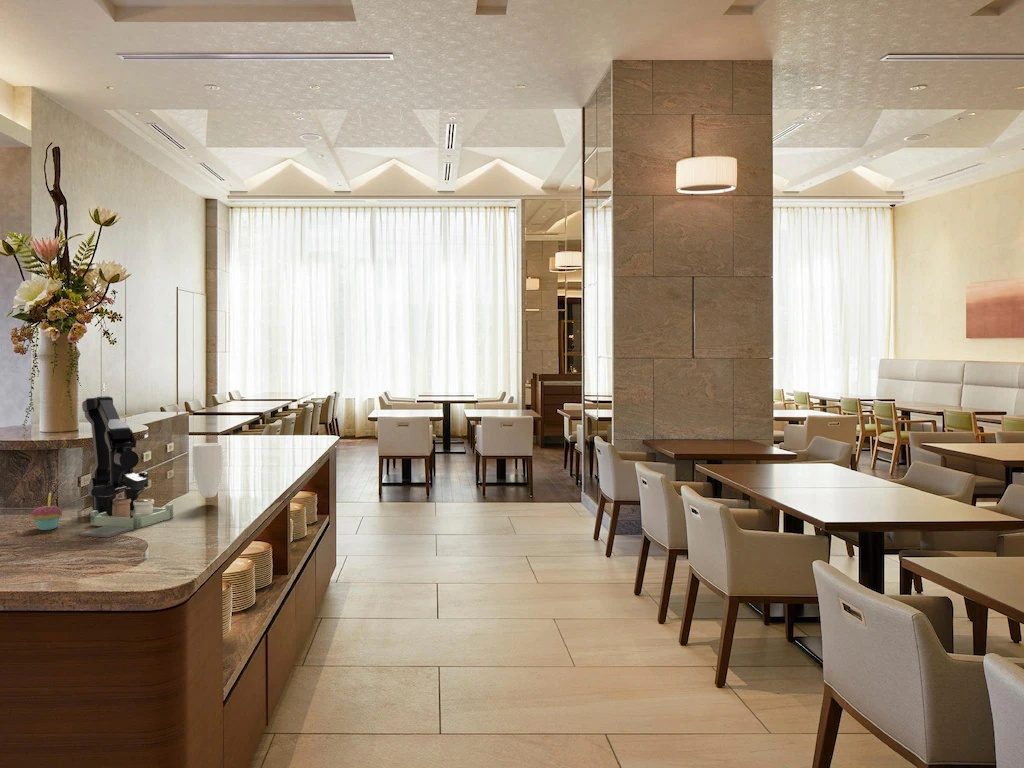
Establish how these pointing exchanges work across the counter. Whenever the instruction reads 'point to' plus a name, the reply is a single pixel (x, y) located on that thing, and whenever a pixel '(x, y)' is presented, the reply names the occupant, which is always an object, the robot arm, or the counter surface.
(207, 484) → the cup
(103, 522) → the cold frame
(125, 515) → the terracotta pot
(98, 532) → the slate tile
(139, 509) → the pot
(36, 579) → the counter surface
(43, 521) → the cupcake
